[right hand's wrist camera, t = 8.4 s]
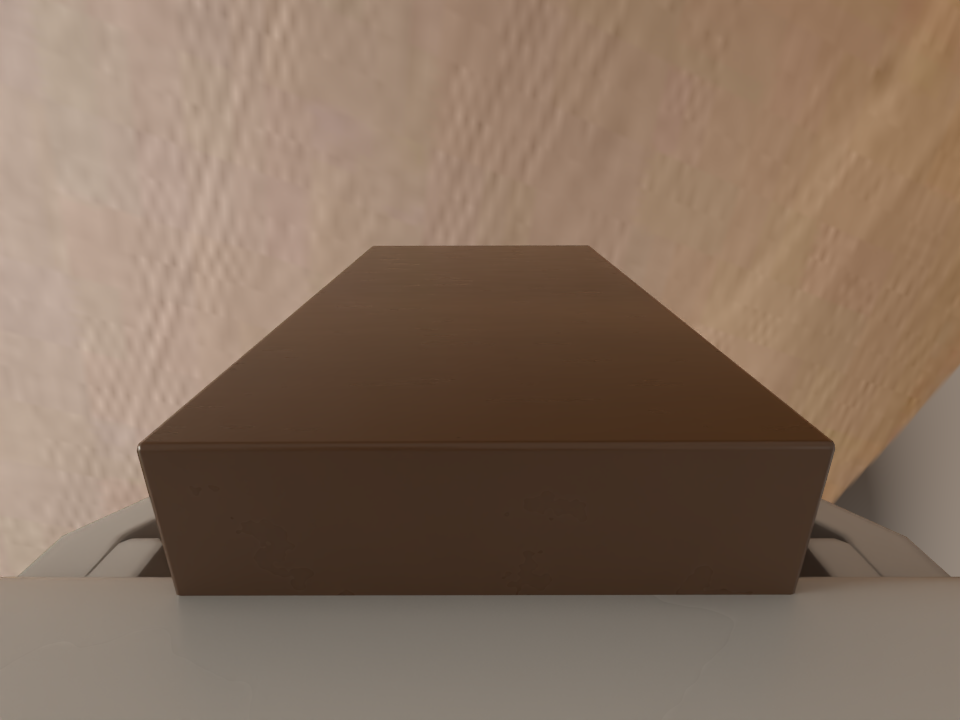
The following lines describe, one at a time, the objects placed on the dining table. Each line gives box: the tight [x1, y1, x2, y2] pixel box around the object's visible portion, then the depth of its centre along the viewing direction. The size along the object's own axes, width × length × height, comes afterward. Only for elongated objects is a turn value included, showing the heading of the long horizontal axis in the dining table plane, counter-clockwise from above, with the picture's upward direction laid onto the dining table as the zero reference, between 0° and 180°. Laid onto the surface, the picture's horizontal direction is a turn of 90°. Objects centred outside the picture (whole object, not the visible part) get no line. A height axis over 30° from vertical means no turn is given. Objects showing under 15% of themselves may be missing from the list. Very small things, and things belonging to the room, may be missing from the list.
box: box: [137, 246, 835, 596], centre depth 13 cm, size 21×6×10 cm, turn 0°
